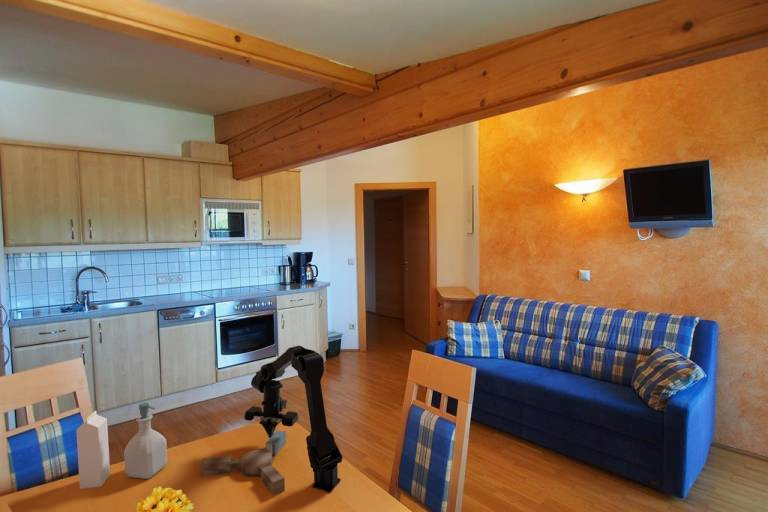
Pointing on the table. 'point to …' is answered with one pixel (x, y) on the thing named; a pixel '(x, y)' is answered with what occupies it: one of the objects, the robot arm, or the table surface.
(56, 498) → the table surface
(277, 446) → the grey long block
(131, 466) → the soap bottle
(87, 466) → the milk
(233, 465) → the wooden three-arm spinner
